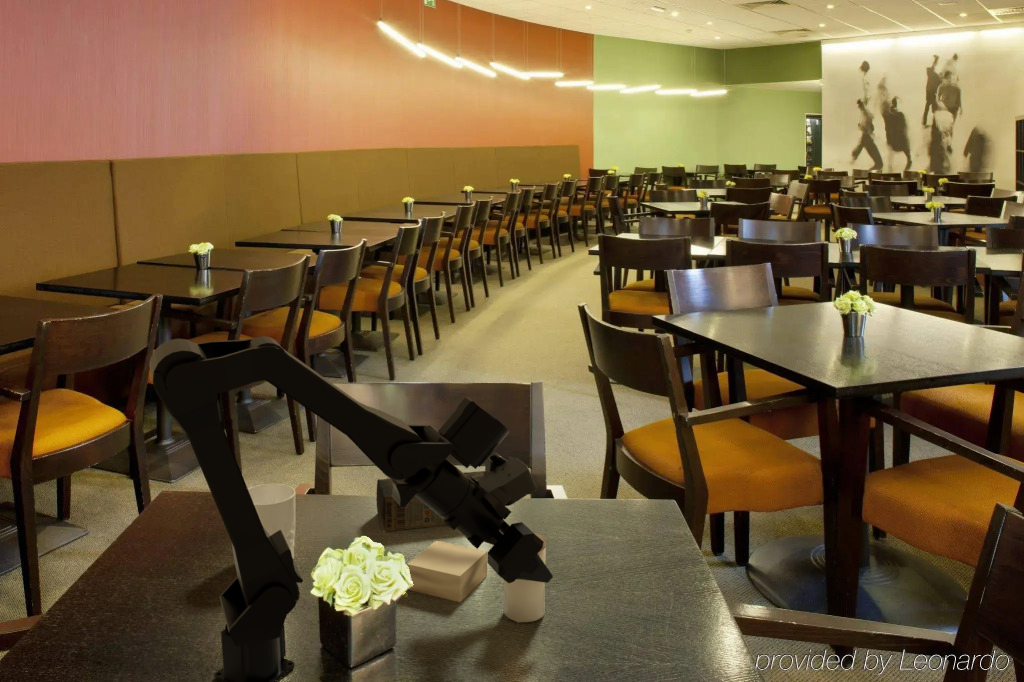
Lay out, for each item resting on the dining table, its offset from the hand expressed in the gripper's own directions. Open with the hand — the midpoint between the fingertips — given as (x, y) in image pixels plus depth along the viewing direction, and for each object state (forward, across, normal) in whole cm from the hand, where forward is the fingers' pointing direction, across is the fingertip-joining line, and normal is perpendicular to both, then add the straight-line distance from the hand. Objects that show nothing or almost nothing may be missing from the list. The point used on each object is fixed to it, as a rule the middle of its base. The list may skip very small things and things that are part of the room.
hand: (534, 563), depth 114 cm
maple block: (0, +12, +10) cm, 16 cm away
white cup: (-16, +28, +25) cm, 41 cm away
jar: (+4, 0, +6) cm, 7 cm away
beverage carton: (+4, +33, +6) cm, 34 cm away
